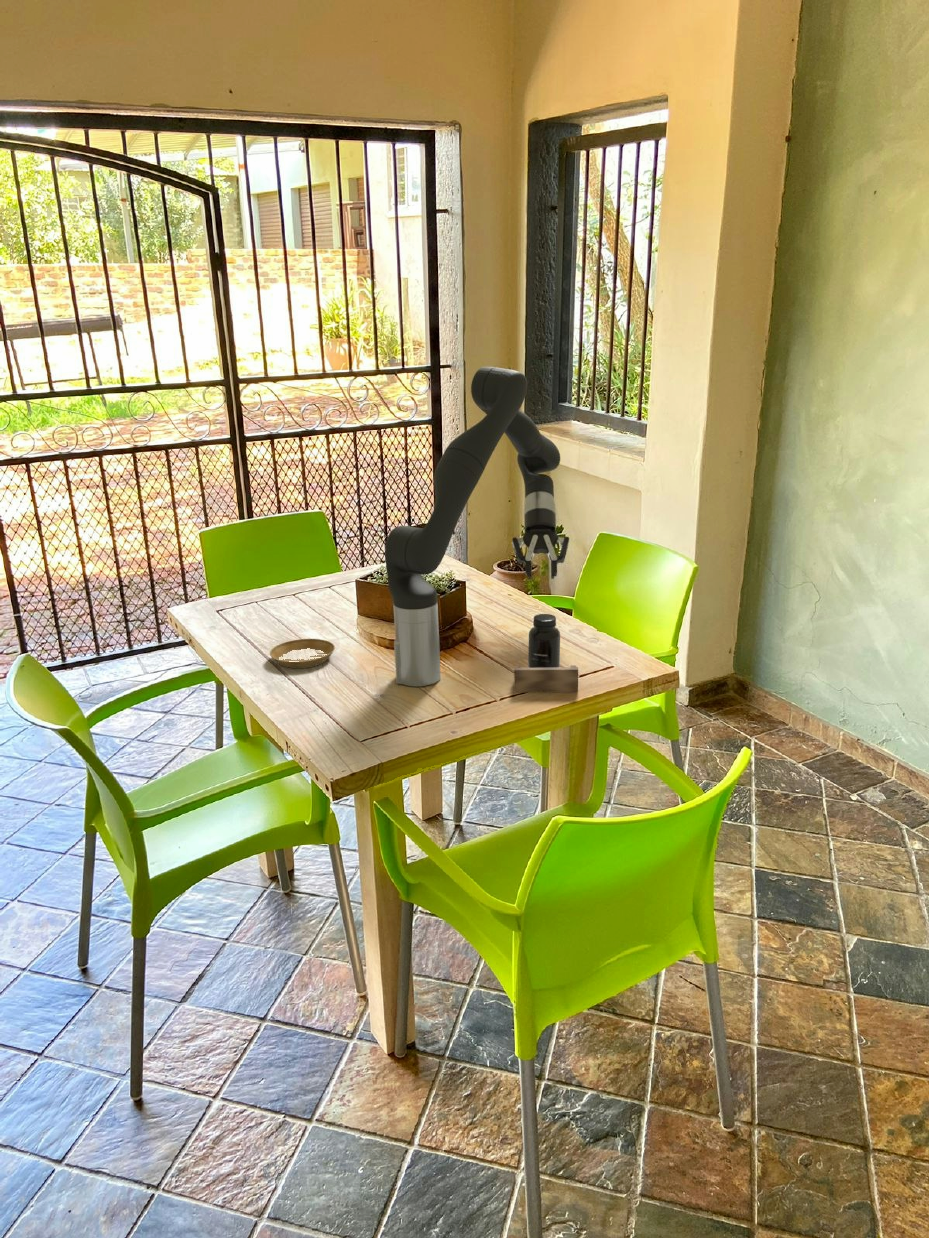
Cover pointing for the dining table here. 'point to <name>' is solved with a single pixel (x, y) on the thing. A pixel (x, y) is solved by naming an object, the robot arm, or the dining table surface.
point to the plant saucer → (298, 645)
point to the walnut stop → (546, 679)
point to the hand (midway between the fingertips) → (541, 577)
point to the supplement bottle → (544, 642)
